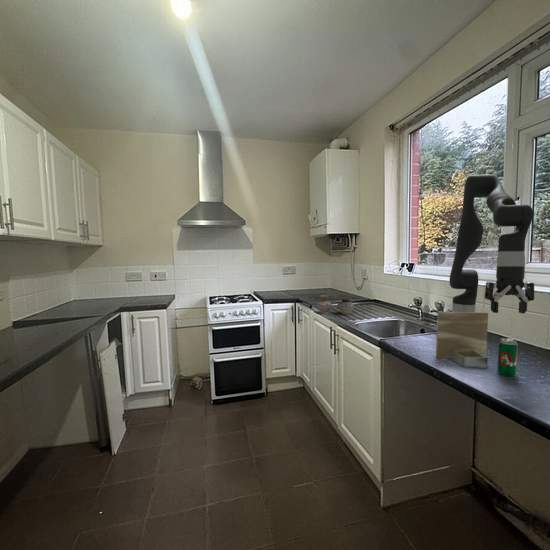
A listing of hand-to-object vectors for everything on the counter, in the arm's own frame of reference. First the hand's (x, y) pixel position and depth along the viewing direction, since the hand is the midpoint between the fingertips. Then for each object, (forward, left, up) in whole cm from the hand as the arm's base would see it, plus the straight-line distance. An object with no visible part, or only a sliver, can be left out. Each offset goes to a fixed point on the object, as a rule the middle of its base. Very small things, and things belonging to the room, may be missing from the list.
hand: (508, 312), depth 103 cm
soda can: (+2, 0, -21) cm, 21 cm away
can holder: (-8, -7, -21) cm, 24 cm away
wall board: (-15, -7, -21) cm, 27 cm away
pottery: (-97, -48, -21) cm, 110 cm away
